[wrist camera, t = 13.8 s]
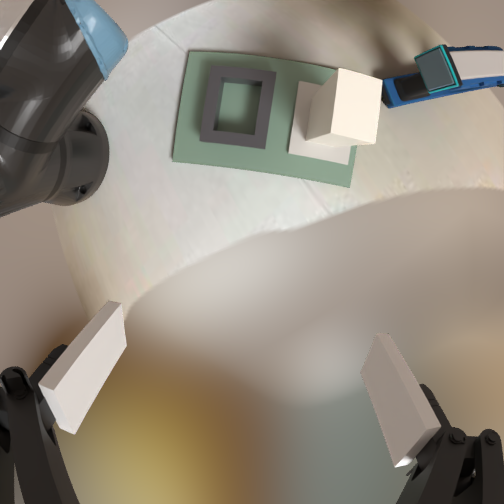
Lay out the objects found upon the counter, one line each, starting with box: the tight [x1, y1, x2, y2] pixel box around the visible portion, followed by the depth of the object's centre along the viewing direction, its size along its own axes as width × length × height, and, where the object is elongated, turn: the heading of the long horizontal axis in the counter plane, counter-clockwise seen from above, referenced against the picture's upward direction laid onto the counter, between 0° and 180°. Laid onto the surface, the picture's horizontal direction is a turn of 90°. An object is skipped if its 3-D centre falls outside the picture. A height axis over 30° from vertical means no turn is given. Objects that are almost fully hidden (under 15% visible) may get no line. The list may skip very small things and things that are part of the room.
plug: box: [306, 68, 383, 147], centre depth 27 cm, size 4×6×14 cm, turn 172°
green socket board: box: [172, 52, 357, 188], centre depth 33 cm, size 24×16×4 cm, turn 82°
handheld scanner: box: [381, 45, 504, 108], centre depth 23 cm, size 5×16×20 cm, turn 112°
